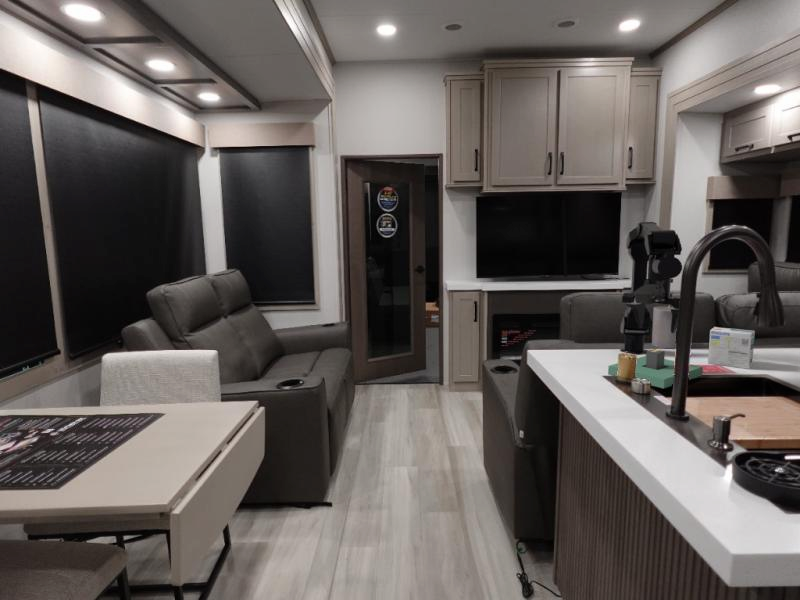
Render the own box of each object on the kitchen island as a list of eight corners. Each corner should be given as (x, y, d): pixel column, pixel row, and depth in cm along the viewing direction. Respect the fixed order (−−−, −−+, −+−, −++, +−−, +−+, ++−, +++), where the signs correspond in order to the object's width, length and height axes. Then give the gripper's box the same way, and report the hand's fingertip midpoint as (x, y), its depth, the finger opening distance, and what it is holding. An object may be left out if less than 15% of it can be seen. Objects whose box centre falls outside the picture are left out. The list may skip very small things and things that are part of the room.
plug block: (653, 372, 138) (654, 348, 137) (663, 374, 136) (664, 350, 135) (645, 374, 136) (646, 350, 135) (655, 377, 133) (657, 352, 132)
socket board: (647, 363, 148) (647, 355, 147) (702, 375, 134) (702, 366, 134) (608, 374, 137) (608, 365, 137) (663, 388, 124) (664, 379, 123)
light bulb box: (752, 365, 144) (755, 330, 143) (749, 369, 139) (752, 333, 138) (711, 359, 151) (714, 326, 150) (707, 363, 147) (709, 329, 145)
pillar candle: (664, 341, 177) (665, 301, 175) (689, 347, 168) (691, 305, 166) (645, 345, 173) (647, 304, 171) (670, 350, 164) (672, 307, 162)
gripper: (611, 275, 136) (609, 328, 138) (678, 279, 120) (674, 339, 122) (633, 272, 142) (631, 324, 144) (700, 276, 126) (696, 334, 128)
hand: (656, 330), depth 135 cm, fingers open, 9 cm apart
